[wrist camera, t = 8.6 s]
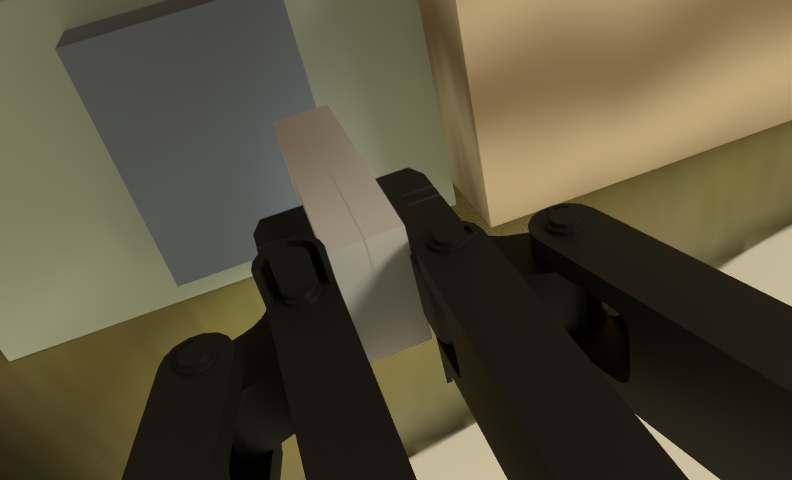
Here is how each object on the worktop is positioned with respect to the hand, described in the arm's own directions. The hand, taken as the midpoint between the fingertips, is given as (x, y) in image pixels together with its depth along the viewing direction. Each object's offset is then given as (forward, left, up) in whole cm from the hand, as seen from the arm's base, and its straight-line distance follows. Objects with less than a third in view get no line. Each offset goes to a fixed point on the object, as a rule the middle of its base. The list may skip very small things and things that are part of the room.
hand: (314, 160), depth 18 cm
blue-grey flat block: (0, -2, -3) cm, 4 cm away
